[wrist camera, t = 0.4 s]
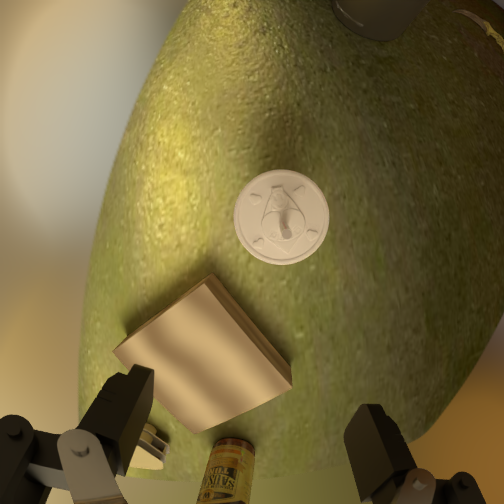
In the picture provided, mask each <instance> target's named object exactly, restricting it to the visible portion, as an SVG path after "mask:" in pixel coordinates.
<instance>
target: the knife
mask: <svg viewBox="0 0 504 504" xmlns="http://www.w3.org/2000/svg"><path fill="white" fill-rule="evenodd" d="M453 12H457V13H461V14H464V15H466V16H468V17H469V18H471V19H472V20H474V21H475V22H476V23H477V24H479V25H480V26H481V27H482V28H483V30H484V31H485V33H486V34H487V36H488V35H492V36H493V37H494V38H495V39H496V42H497V43H498V44H499V45H500V46H501V47H502V49H503V52H504V39H503V38H502V37H501V36H500V35H499V34H497V33H496V32H495V31H494V30H493V29H492V27H491V26H490V24H489V23H488V22H486V21H485V20H482V19H481V18H480V17H478V16H477V15H475V14H473V13H471V12H469V11H466V10H461V9H458V10H454V11H453Z"/></svg>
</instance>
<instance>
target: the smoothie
mask: <svg viewBox="0 0 504 504" xmlns="http://www.w3.org/2000/svg"><path fill="white" fill-rule="evenodd" d="M328 225H329V209H328V205H327V201H326V199H325V197H324V195H323V193H322V191H321V190H320V188H319V187H318V186H317V185H316V184H315V183H314V182H313V181H312V180H311V179H309V178H308V177H306V176H305V175H303V174H300V173H298V172H295V171H291V170H283V169H281V170H272V171H268V172H265V173H262V174H260V175H258V176H256V177H255V178H253V179H252V180H251V181H250V182H249V183H248V184H247V185H246V186H245V187H244V188H243V189H242V191H241V193H240V194H239V196H238V198H237V201H236V204H235V208H234V226H235V230H236V233H237V236H238V238H239V240H240V241H241V243H242V244H243V246H244V247H245V248H246V249H247V250H248V251H249V252H250V253H251V254H252V255H253V256H255V257H256V258H258V259H260V260H262V261H264V262H267V263H271V264H277V265H286V264H292V263H296V262H299V261H301V260H303V259H305V258H307V257H308V256H310V255H311V254H312V253H314V252H315V251H316V250H317V249H318V247H319V246H320V245H321V243H322V242H323V240H324V238H325V236H326V233H327V230H328Z"/></svg>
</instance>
